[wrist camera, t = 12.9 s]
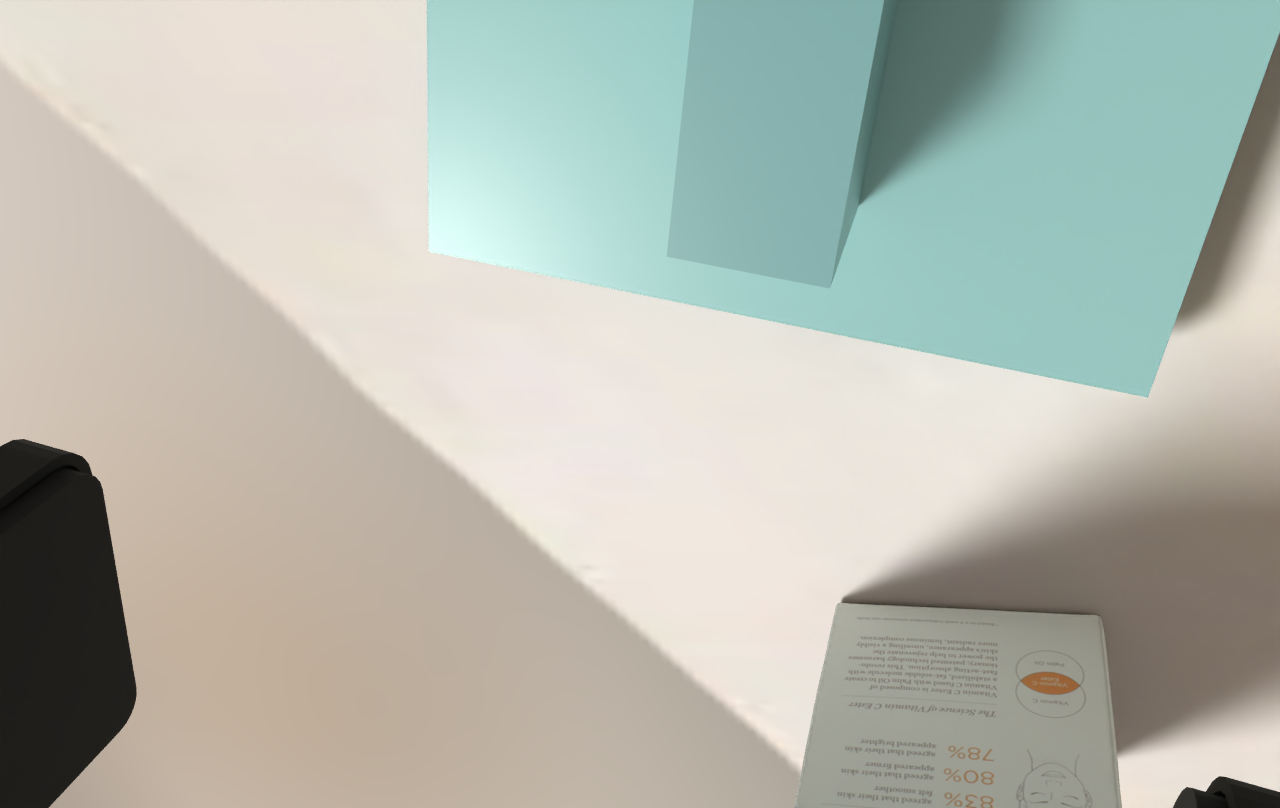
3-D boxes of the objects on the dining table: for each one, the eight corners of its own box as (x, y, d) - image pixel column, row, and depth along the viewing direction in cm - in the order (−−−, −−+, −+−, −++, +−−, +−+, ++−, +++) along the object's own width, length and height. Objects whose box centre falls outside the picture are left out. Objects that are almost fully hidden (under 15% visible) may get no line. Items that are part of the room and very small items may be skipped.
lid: (1368, -316, 23) (1501, -331, 17) (1138, 346, 31) (1168, 511, 25) (475, -396, 27) (301, -434, 21) (469, 216, 35) (341, 329, 28)
